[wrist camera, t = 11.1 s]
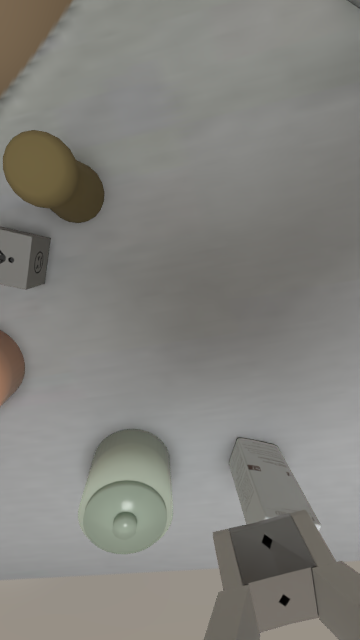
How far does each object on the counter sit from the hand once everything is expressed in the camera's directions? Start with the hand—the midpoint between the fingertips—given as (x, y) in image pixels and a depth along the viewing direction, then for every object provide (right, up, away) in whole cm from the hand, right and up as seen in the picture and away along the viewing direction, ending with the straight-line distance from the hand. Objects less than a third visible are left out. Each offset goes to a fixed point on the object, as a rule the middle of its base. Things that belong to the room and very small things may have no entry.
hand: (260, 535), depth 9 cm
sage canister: (-9, -12, +30) cm, 34 cm away
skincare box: (+7, -12, +32) cm, 34 cm away
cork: (-14, +20, +22) cm, 33 cm away
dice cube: (-20, +14, +23) cm, 33 cm away
